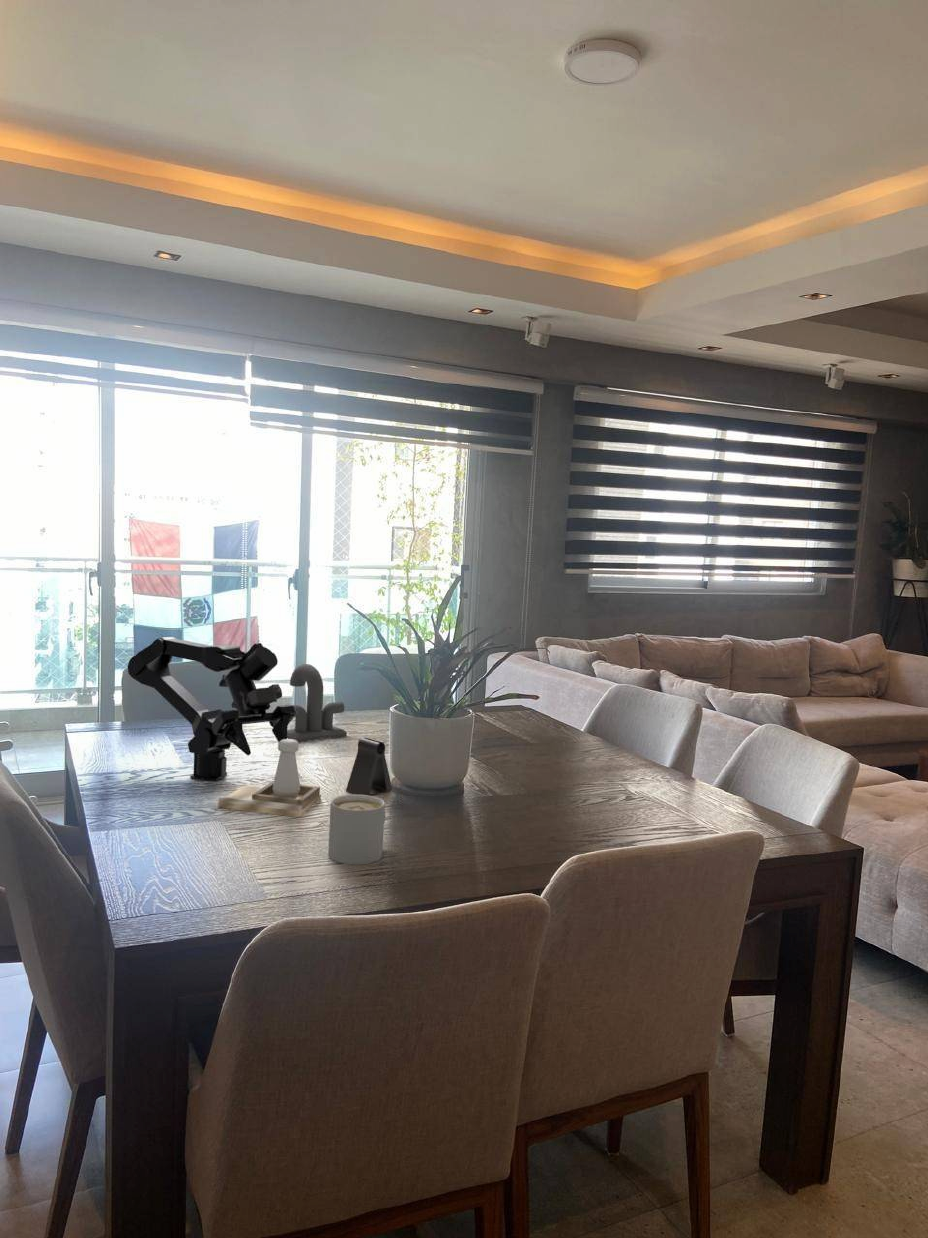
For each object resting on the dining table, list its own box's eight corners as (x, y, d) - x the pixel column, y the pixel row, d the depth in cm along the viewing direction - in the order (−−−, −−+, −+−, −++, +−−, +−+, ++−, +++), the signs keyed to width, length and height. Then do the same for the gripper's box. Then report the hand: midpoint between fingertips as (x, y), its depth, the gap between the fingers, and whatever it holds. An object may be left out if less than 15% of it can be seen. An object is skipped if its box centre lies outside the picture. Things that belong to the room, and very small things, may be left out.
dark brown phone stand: (363, 798, 209) (366, 745, 208) (345, 791, 213) (348, 740, 212) (392, 791, 216) (395, 740, 215) (374, 785, 220) (377, 735, 219)
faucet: (317, 725, 280) (320, 659, 278) (348, 735, 269) (351, 667, 267) (264, 731, 268) (267, 662, 266) (294, 742, 256) (297, 670, 254)
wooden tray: (218, 807, 196) (218, 792, 196) (243, 790, 209) (244, 776, 208) (299, 817, 193) (300, 802, 192) (320, 799, 206) (321, 785, 205)
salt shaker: (269, 796, 202) (271, 737, 200) (295, 794, 204) (298, 736, 203) (276, 804, 196) (278, 743, 195) (302, 802, 199) (305, 742, 198)
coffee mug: (353, 868, 166) (356, 814, 165) (317, 853, 173) (319, 800, 172) (406, 851, 176) (409, 800, 175) (369, 838, 183) (372, 788, 182)
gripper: (220, 674, 200) (245, 736, 193) (294, 669, 213) (319, 727, 206) (201, 703, 206) (223, 764, 199) (274, 697, 219) (297, 754, 212)
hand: (267, 751), depth 204 cm, fingers open, 9 cm apart
